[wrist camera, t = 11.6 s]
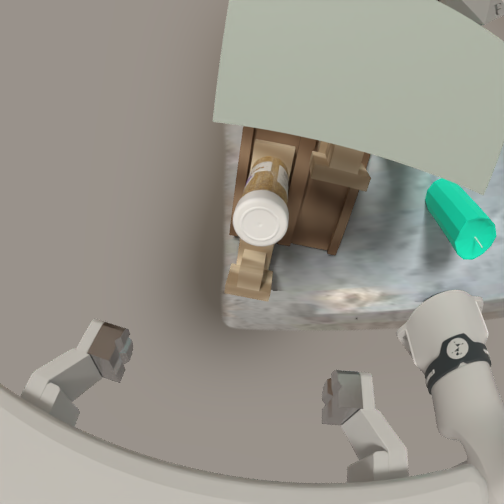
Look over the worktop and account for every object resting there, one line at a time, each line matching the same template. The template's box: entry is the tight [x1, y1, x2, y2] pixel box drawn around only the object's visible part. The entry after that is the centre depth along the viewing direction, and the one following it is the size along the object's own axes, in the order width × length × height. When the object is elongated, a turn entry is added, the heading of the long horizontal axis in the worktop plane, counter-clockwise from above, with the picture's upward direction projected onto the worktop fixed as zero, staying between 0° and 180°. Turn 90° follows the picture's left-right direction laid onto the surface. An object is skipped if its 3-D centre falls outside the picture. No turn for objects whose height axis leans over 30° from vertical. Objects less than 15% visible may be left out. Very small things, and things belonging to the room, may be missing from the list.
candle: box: [425, 178, 496, 259], centre depth 29 cm, size 6×6×12 cm
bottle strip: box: [225, 139, 295, 301], centre depth 36 cm, size 20×6×6 cm, turn 172°
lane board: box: [229, 126, 370, 255], centre depth 32 cm, size 29×15×2 cm, turn 172°
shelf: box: [213, 0, 504, 195], centre depth 19 cm, size 9×15×22 cm, turn 82°
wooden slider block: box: [309, 141, 371, 191], centre depth 27 cm, size 15×6×6 cm, turn 172°
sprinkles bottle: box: [233, 156, 289, 246], centre depth 29 cm, size 5×5×13 cm
